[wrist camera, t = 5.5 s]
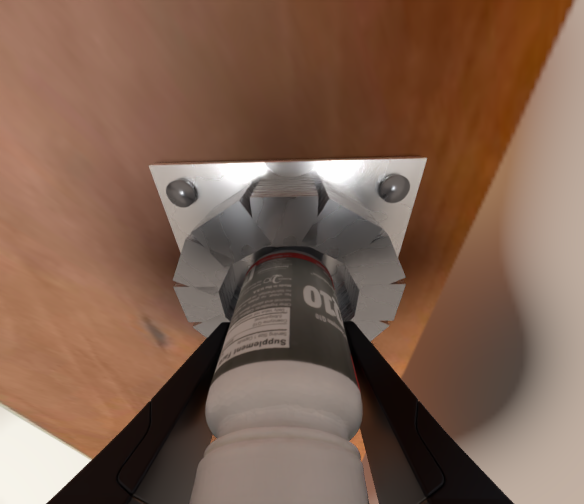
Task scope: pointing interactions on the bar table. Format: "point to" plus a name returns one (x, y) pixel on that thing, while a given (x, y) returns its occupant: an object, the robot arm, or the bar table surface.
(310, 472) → the pill bottle
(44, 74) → the bar table surface
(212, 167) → the socket
